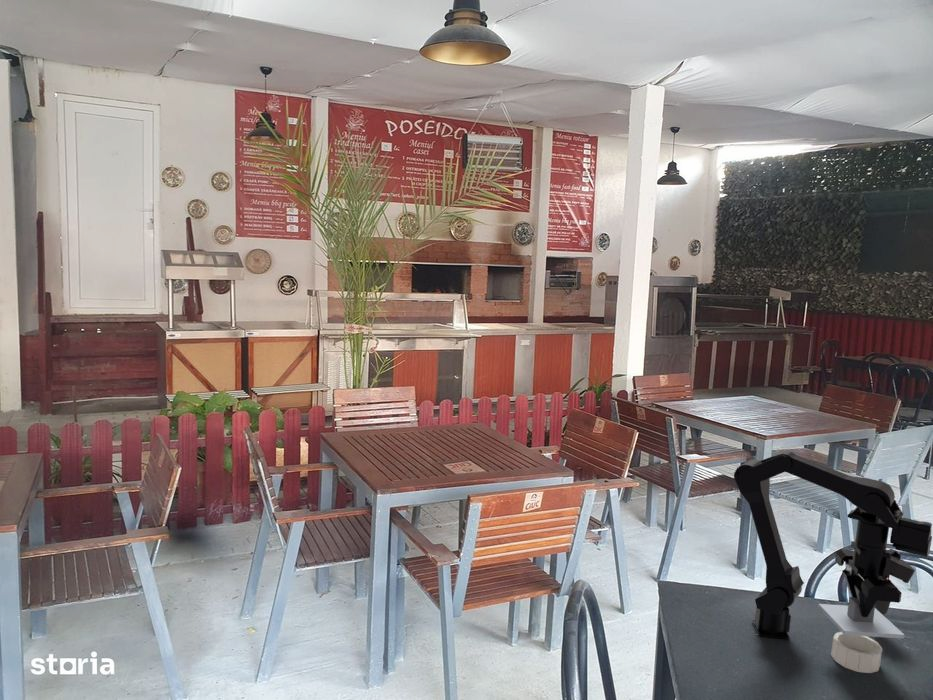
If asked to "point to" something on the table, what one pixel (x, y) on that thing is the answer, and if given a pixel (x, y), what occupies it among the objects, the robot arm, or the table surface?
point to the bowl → (856, 652)
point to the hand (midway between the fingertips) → (861, 612)
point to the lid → (860, 620)
